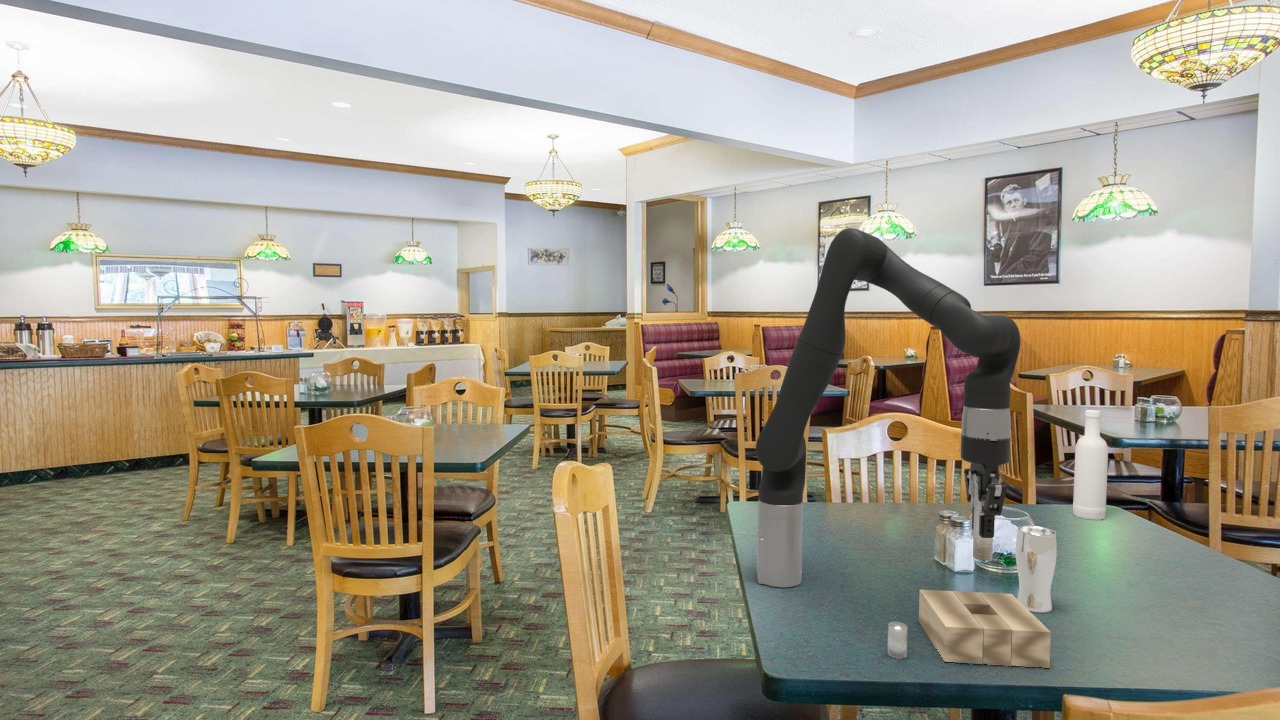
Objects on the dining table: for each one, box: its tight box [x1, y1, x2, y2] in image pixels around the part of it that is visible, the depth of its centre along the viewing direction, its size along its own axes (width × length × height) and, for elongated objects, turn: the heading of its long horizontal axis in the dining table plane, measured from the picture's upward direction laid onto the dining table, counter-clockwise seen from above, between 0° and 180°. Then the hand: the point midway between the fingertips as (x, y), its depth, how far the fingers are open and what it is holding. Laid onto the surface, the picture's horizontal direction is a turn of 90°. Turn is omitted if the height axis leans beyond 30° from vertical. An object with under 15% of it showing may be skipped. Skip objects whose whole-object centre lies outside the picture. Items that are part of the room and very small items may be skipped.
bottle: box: [1072, 409, 1109, 521], centre depth 202 cm, size 8×8×30 cm
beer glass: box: [1015, 525, 1058, 614], centre depth 139 cm, size 7×7×15 cm
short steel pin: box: [887, 621, 908, 660], centre depth 120 cm, size 3×3×5 cm
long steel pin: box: [972, 486, 994, 561], centre depth 123 cm, size 3×3×14 cm
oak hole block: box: [918, 589, 1052, 669], centre depth 124 cm, size 16×16×6 cm
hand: (982, 533), depth 123 cm, fingers closed on long steel pin, 3 cm apart
